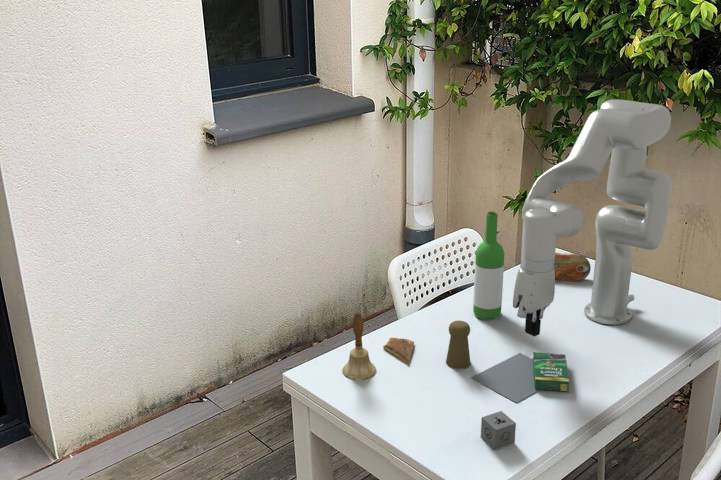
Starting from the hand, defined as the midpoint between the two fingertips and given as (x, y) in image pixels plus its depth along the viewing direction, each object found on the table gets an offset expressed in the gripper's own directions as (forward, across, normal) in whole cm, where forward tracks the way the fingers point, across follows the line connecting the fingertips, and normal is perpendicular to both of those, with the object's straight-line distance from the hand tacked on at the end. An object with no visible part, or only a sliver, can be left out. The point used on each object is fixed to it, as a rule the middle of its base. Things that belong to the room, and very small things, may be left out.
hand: (532, 333), depth 180 cm
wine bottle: (+11, -15, -27) cm, 33 cm away
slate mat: (+10, +4, 0) cm, 11 cm away
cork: (+10, +10, -14) cm, 20 cm away
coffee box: (+9, -7, +1) cm, 11 cm away
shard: (+11, +16, -27) cm, 33 cm away
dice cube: (+10, +27, +13) cm, 32 cm away
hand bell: (+10, +31, -27) cm, 43 cm away
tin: (+11, -51, -28) cm, 59 cm away
